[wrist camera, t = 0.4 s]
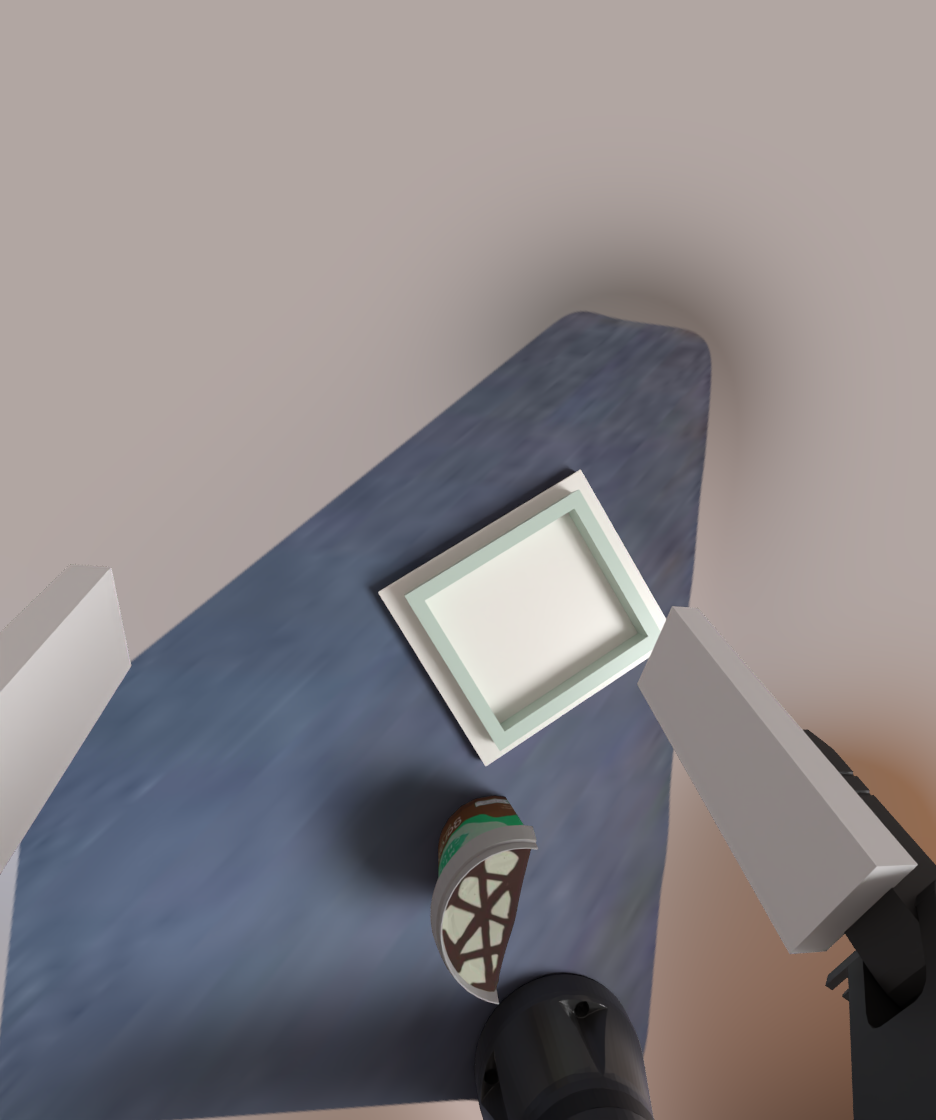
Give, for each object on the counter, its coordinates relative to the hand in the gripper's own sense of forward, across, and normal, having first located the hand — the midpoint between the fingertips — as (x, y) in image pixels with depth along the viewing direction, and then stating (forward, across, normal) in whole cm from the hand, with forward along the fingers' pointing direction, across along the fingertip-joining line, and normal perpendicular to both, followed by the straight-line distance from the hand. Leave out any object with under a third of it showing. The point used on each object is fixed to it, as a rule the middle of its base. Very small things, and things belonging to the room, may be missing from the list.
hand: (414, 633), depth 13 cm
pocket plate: (+27, -14, +18) cm, 35 cm away
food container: (+17, -9, +36) cm, 41 cm away
